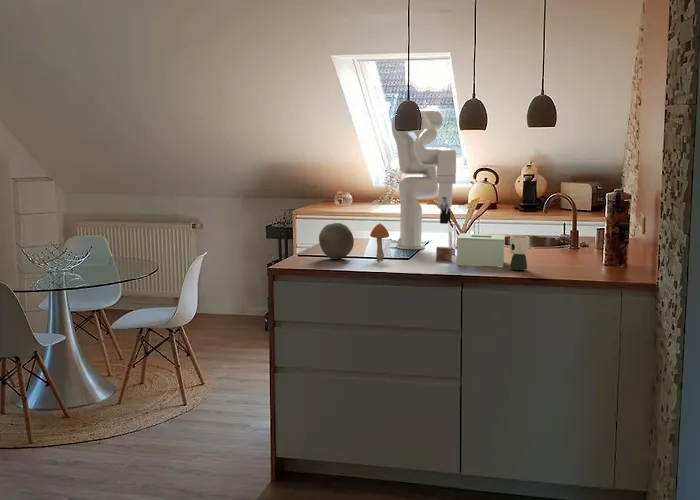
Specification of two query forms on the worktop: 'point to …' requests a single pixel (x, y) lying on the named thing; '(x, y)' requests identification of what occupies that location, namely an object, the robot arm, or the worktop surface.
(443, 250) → the brown wooden block
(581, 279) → the worktop surface
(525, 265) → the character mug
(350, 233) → the cantaloupe
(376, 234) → the mushroom
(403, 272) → the worktop surface
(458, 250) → the coin box
